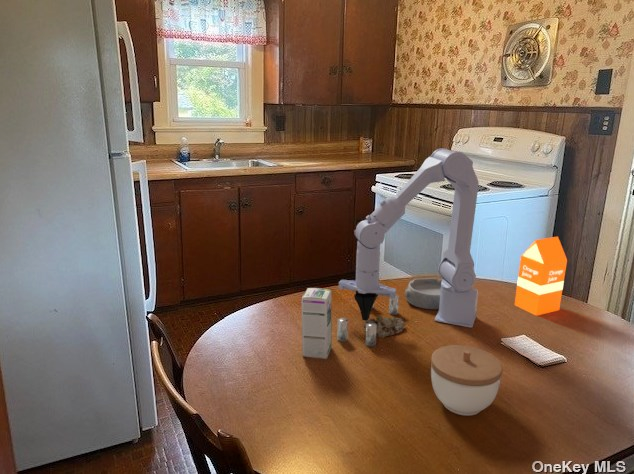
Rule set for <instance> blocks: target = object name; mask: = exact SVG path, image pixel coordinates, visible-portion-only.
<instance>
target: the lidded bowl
mask: <svg viewBox="0 0 634 474" xmlns="http://www.w3.org/2000/svg"><path fill="white" fill-rule="evenodd" d="M430 364H431V365H430V366H431V367H430V378H431V379H430V381H431V385H432V389H433V392H434V394H435V396H436V397H437V399H438V400H439V401H440V402H441V403H442V404H443V406H444V408H445V409H447V410H448V411H449V412H451V413H454V414H456V415H459V416H463V417H466V416H468V417H469V416H474V415H477V414H479V413H481V411H484V410H485V409H486V408H488V407H490V405H492V403H493V401H494V400H495V399H496V396H497V395H498V392H499V388H500V383H501V377H502V376H503V366H502V363H501V361H500V360H499V359H498V358H497V357H496V356H495V355H493V354H492V353H490V352H488V351H486V350H484V349H483V348H478V347H475V346H470V345H464V344H463V345H462V344H449V345H444V346H441V347H439V348H437V349H435V350H434V351H433V352H432V354H431V358H430Z"/></svg>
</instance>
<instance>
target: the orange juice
mask: <svg viewBox="0 0 634 474" xmlns="http://www.w3.org/2000/svg"><path fill="white" fill-rule="evenodd" d="M567 263H568V259H567V256H566V253H565V251H564V248H563V246H562V244H561V240H560V239H559V236H553V237H552V236H551V237H546V238H541V239H535V240H534V241H533V242H532V244H531V245H530V246H529V247H528V248H527V249H526V250H525V251H524V252H523V254H521V255H520V261H519V267H518V268H519V269H518V275H517V276H518V277H517V282H516V291H515V299H514V306H516V307H518V308H520V309H522V310H524V311H526V312H528V313H530V314H532V315H534V316H542V315H544V314H549V313H552V312H557V311H560V307H561V301H562V295H563V289H564V283H565V276H566V270H567Z"/></svg>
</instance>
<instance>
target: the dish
mask: <svg viewBox="0 0 634 474" xmlns="http://www.w3.org/2000/svg"><path fill="white" fill-rule="evenodd" d="M441 282H442V278H437V277H426V278H423V277H422V278H414V279H413V280H410V281H409V282H408V285H407V287H406V289H405V290H404V297H405V298H406V301H407V302H408V303H409V304H410V305H413V306H414V307H416V308H417V307H418V308H420V309H424V310H425V309H426V310H439V304H440V292H441Z"/></svg>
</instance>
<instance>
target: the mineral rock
mask: <svg viewBox="0 0 634 474" xmlns="http://www.w3.org/2000/svg"><path fill="white" fill-rule="evenodd" d="M367 323H375V324H376V325H377V330H376V337H380V338H386V337H389V336H393V335H396V334H399V333H402V332H403V330H404V329H405V326H406V324H405V321H404V320H403V319H402V318H401V317H383V316H381V315H377V316H376V318H375V319H374V318H369V319H368V320H367V321H363V322H362V324H363V329H364V331H366V324H367Z"/></svg>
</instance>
